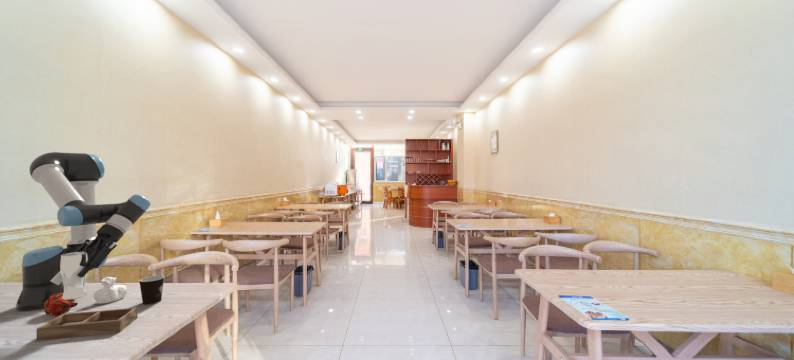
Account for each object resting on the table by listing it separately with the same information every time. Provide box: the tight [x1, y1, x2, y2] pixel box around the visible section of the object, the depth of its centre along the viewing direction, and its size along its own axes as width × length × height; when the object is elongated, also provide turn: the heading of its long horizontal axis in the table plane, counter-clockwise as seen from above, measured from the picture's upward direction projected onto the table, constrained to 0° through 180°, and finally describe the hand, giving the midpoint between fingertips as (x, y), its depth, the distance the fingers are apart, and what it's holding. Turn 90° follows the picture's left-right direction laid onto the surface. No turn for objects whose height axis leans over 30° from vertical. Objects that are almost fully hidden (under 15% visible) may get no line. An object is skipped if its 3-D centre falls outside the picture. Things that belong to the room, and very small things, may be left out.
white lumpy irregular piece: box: [92, 276, 128, 305], centre depth 143 cm, size 12×8×11 cm
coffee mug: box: [138, 275, 165, 306], centre depth 143 cm, size 12×9×10 cm
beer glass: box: [60, 252, 88, 300], centre depth 115 cm, size 7×7×15 cm
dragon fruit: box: [43, 293, 78, 317], centre depth 129 cm, size 8×8×12 cm
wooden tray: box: [36, 307, 138, 342], centre depth 116 cm, size 12×23×4 cm, turn 105°
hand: (61, 284), depth 112 cm, fingers closed on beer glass, 7 cm apart
